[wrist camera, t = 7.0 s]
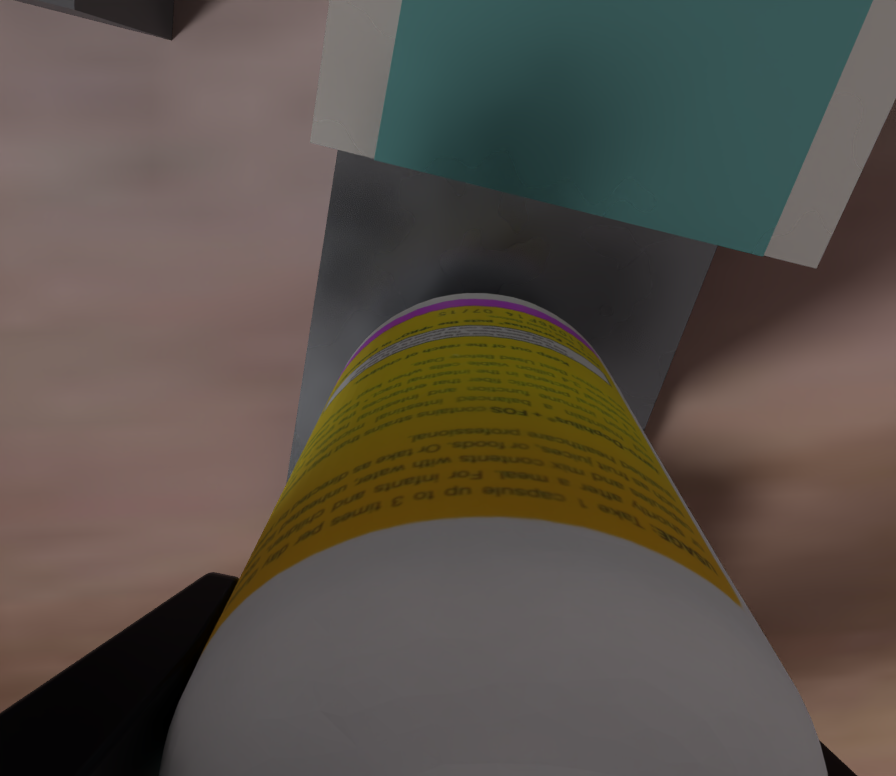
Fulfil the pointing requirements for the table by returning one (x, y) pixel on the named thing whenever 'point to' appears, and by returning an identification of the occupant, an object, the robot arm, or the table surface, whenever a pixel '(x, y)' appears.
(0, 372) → the table surface
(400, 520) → the supplement bottle
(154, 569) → the table surface
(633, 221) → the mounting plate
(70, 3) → the loose gray rectangular block
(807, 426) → the table surface
